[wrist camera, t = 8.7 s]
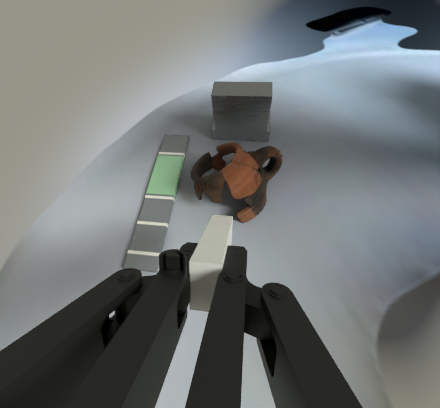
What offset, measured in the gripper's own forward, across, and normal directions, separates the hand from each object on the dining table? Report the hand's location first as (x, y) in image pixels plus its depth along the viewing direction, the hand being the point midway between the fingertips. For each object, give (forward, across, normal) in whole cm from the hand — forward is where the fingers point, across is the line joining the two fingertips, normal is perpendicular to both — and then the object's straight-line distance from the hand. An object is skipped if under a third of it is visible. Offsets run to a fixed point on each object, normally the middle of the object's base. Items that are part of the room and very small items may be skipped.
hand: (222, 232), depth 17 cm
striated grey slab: (+24, 0, +7) cm, 25 cm away
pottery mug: (+16, 0, -1) cm, 16 cm away
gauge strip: (+15, -11, -1) cm, 18 cm away
